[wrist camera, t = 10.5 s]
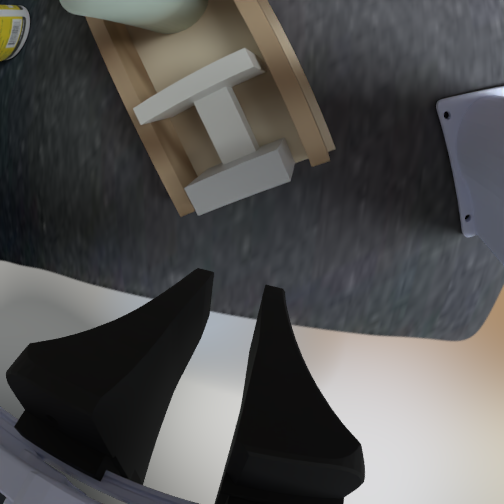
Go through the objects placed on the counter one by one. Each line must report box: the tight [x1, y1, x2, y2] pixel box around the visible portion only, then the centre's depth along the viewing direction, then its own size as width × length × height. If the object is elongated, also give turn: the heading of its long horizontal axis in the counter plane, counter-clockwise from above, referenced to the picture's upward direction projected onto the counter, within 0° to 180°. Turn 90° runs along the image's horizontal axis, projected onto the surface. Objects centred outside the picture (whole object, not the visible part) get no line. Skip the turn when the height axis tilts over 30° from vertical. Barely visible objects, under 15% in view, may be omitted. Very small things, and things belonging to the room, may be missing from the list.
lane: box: [85, 0, 336, 217], centre depth 14 cm, size 22×10×4 cm, turn 24°
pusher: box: [133, 48, 295, 216], centre depth 16 cm, size 6×6×4 cm
